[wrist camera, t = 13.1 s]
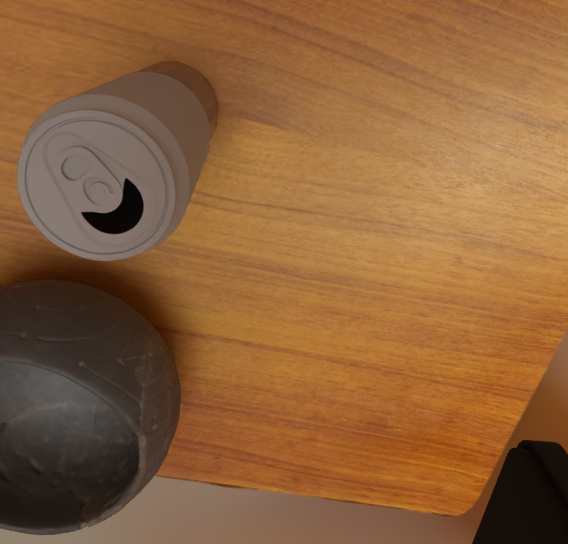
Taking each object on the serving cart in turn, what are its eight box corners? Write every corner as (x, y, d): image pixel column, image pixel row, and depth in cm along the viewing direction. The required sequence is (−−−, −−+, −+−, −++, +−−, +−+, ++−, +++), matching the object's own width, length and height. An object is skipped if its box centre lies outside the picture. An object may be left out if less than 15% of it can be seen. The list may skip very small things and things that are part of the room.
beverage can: (149, 206, 32) (94, 301, 21) (71, 117, 30) (-35, 172, 19) (234, 143, 31) (222, 209, 20) (159, 44, 29) (99, 58, 18)
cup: (127, 56, 36) (95, 65, 29) (221, 66, 37) (212, 78, 29) (128, 149, 39) (98, 178, 32) (215, 157, 39) (206, 189, 32)
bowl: (177, 441, 50) (153, 566, 39) (-28, 415, 48) (-118, 540, 36) (204, 268, 43) (185, 359, 31) (-36, 229, 41) (-151, 311, 29)
